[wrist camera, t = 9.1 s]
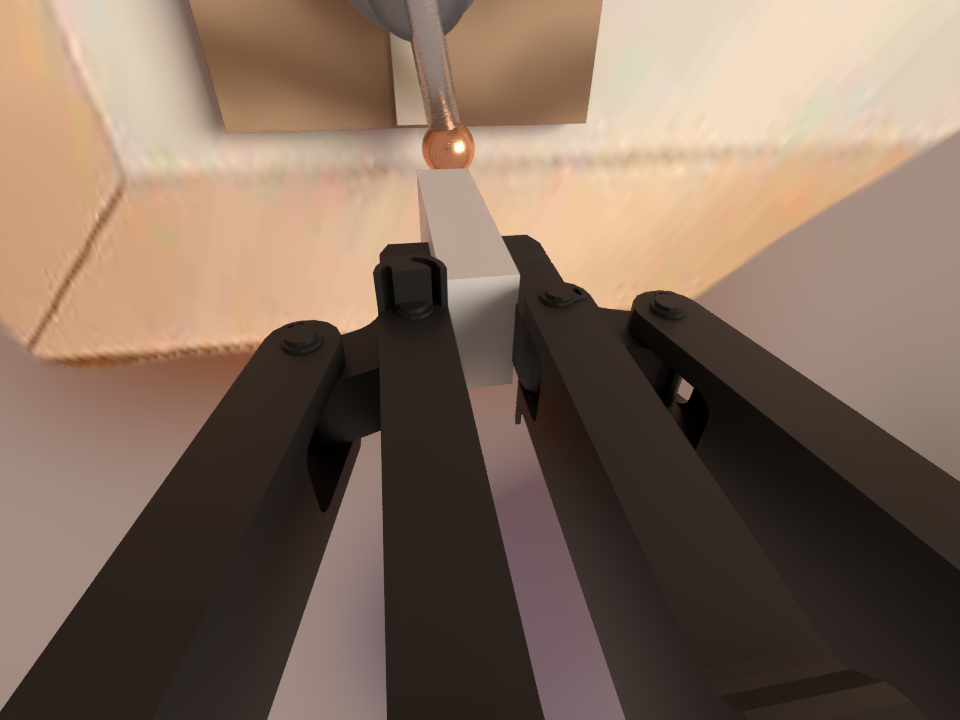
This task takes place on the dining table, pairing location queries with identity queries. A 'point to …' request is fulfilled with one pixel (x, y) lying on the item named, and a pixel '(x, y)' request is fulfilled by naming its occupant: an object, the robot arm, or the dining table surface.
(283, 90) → the board
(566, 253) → the dining table surface
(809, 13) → the dining table surface
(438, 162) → the metal ball lever
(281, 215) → the dining table surface
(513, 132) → the dining table surface
